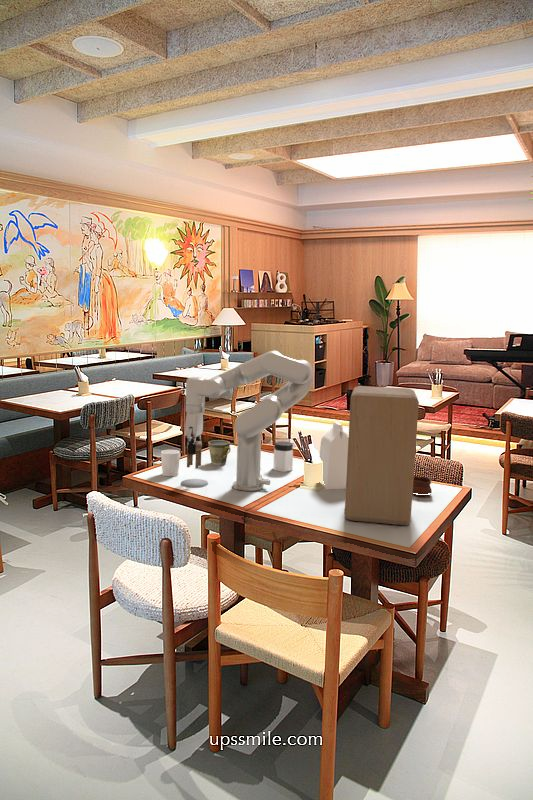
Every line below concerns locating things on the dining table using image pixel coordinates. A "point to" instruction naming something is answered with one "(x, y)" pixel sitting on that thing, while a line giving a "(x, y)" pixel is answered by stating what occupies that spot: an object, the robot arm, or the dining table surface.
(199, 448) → the stool mini
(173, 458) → the white cup
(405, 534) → the dining table surface
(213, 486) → the dining table surface
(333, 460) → the milk
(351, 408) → the block
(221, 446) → the ceramic cup
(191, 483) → the felt mat
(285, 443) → the jar
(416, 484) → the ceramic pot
